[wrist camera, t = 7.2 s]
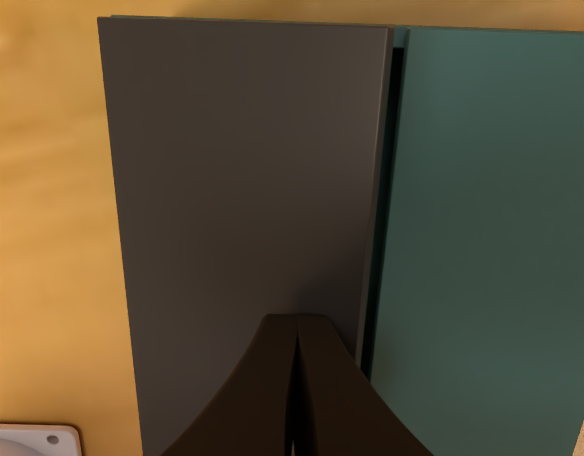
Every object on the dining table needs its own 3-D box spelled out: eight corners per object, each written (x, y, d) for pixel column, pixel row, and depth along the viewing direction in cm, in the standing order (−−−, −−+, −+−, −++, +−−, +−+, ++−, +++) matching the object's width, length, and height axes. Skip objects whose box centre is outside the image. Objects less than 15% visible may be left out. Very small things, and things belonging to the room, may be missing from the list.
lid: (152, 465, 16) (144, 473, 15) (108, 16, 11) (95, 16, 10) (340, 564, 13) (335, 576, 13) (396, 26, 8) (389, 26, 8)
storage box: (185, 351, 21) (145, 474, 15) (166, 18, 16) (96, 13, 10) (491, 359, 21) (565, 485, 15) (563, 32, 16) (712, 35, 11)
